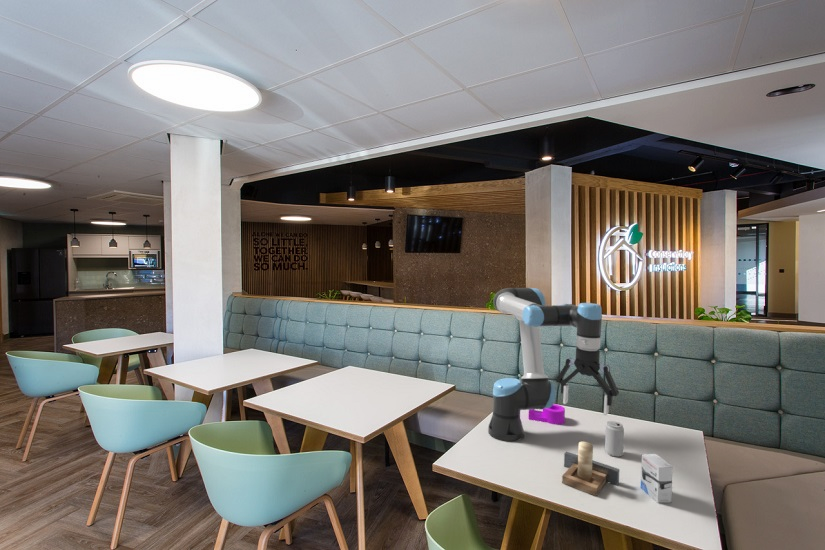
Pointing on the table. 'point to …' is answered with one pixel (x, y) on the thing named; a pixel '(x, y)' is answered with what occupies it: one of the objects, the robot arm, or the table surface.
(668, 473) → the ink box
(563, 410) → the tape dispenser
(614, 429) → the beverage can
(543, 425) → the table surface
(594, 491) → the wooden square tray
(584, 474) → the dowel
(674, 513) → the table surface
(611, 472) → the backstop rail
